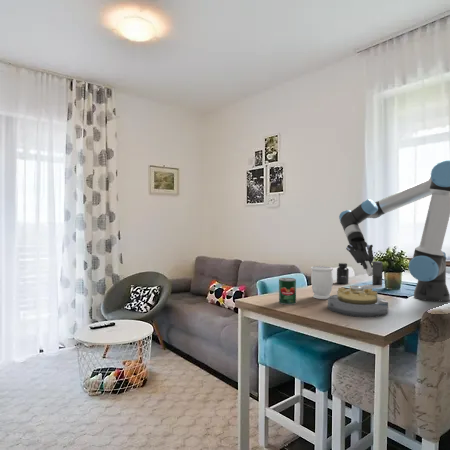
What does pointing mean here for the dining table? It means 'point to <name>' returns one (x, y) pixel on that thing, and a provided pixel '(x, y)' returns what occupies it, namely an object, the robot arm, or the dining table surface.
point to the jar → (321, 281)
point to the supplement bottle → (342, 274)
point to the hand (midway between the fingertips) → (371, 274)
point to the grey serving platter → (358, 308)
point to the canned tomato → (287, 291)
